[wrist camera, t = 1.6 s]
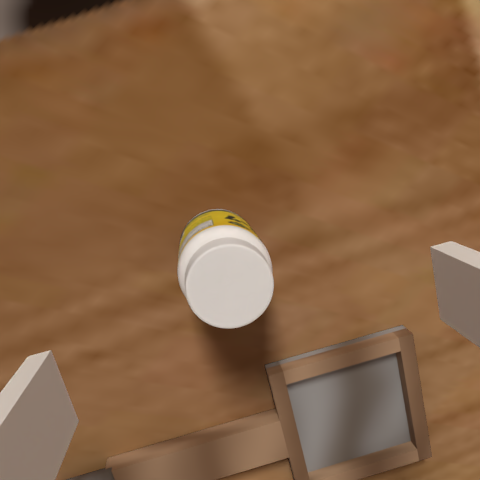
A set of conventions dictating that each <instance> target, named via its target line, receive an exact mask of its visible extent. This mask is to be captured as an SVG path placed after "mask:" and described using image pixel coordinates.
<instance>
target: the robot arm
mask: <svg viewBox="0 0 480 480" xmlns="http://www.w3.org/2000/svg"><path fill="white" fill-rule="evenodd" d="M430 249H431V256H432V263H433V270H434V278H435V285H436V292H437V299H438V306H439V314H440V319H441V320H442V321H443V322H445V323H446V324H448V325H449V326H450V327H452V328H453V329H455V330H456V331H457V332H459V333H460V334H462V335H463V336H464V337H466V338H467V339H469V340H470V341H471V342H473V343H474V344H475V345H477V346H478V347H480V252H478V251H475V250H473V249H470V248H468V247H465V246H463V245H460V244H457V243H455V242H452V241H450V242H446V243H443V244H439V245H435V246H432V247H430ZM78 422H79V420H78V418H77V415H76V413H75V410H74V407H73V405H72V402H71V400H70V397H69V395H68V392H67V390H66V387H65V384H64V382H63V379H62V377H61V374H60V372H59V369H58V367H57V364H56V362H55V359H54V356H53V354H52V351H51V350H50V351H46V352H43V353H39V354H35V355H32V356H28V357H27V358H26V360H25V361H24V362H23V364H22V365H21V366H20V368H19V369H18V370H17V371H16V373H15V374H14V375H13V377H12V378H11V379H10V381H9V382H8V383H7V385H6V386H5V387H4V389H3V390H2V391H1V393H0V480H55V479H56V476H57V474H58V471H59V469H60V466H61V464H62V461H63V459H64V456H65V454H66V451H67V449H68V446H69V444H70V441H71V439H72V436H73V434H74V432H75V429H76V427H77V424H78Z"/></svg>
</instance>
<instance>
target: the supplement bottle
mask: <svg viewBox="0 0 480 480" xmlns="http://www.w3.org/2000/svg"><path fill="white" fill-rule="evenodd" d="M177 273H178V280H179V284H180V287H181V290H182V292H183V294H184V295H185V297H186V298H187V301H188V303H189V305H190V307H191V309H192V311H193V312H194V313H195V314H196V315H197V316H198V317H199V318H200V319H201V320H202V321H204V322H206V323H207V324H209V325H212V326H214V327H218V328H226V329H230V328H238V327H242V326H245V325H247V324H249V323H251V322H253V321H254V320H256V319H257V318H258V317H259V316H261V315H262V314H263V312H264V311H265V310H266V308H267V307H268V305H269V303H270V301H271V298H272V295H273V289H274V280H273V275H272V263H271V259H270V256H269V253H268V251H267V249H266V247H265V246H264V244H263V243H262V241H261V240H260V239H259V237H258V236H257V235H256V234H255V232H254V231H253V230H252V228H251V227H250V226H249V224H248V223H247V222H246V221H245V220H244V219H243V218H241V217H240V216H239V215H237V214H235V213H233V212H231V211H228V210H223V209H213V210H208V211H205V212H202V213H200V214H198V215H197V216H195V217H194V218H193V219H192V220H191V221H190V222H189V223H188V224H187V225H186V227H185V228H184V230H183V232H182V235H181V239H180V245H179V258H178V272H177Z"/></svg>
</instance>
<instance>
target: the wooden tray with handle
mask: <svg viewBox="0 0 480 480" xmlns="http://www.w3.org/2000/svg"><path fill="white" fill-rule="evenodd" d="M265 369H266V372H267V376H268V380H269V384H270V388H271V392H272V396H273V400H274V404H275V409H272V410H268V411H265V412H262V413H258V414H255V415H252V416H248V417H245V418H241V419H238V420H235V421H231V422H228V423H224V424H221V425H218V426H214V427H211V428H208V429H204V430H201V431H197V432H194V433H191V434H187V435H184V436H180V437H177V438H174V439H170V440H167V441H164V442H160V443H157V444H153V445H150V446H147V447H143V448H140V449H136V450H133V451H130V452H126V453H123V454H120V455H116V456H113V457H109V458H108V459H107V463H106V467H105V468H103V469H100V470H97V471H93V472H90V473H87V474H83V475H80V476H77V477H73V478H70V479H66V480H217V479H220V478H223V477H226V476H230V475H233V474H236V473H240V472H243V471H246V470H250V469H253V468H256V467H259V466H263V465H266V464H269V463H273V462H276V461H279V460H283V459H286V458H289V462H290V466H291V470H292V474H293V478H294V480H359V479H362V478H366V477H369V476H372V475H375V474H378V473H382V472H385V471H388V470H391V469H395V468H398V467H401V466H404V465H408V464H411V463H414V462H417V461H420V460H424V459H427V458H430V457H432V453H431V446H430V440H429V434H428V427H427V421H426V415H425V408H424V402H423V396H422V389H421V383H420V377H419V370H418V364H417V358H416V351H415V345H414V339H413V334H412V333H411V332H410V331H409V330H408V329H406V328H405V327H404V326H403V325H401V326H398V327H394V328H391V329H388V330H384V331H381V332H377V333H374V334H370V335H367V336H363V337H360V338H356V339H353V340H349V341H346V342H342V343H339V344H336V345H332V346H329V347H325V348H322V349H318V350H315V351H311V352H308V353H304V354H301V355H297V356H294V357H290V358H287V359H284V360H280V361H277V362H273V363H270V364H266V365H265Z"/></svg>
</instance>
